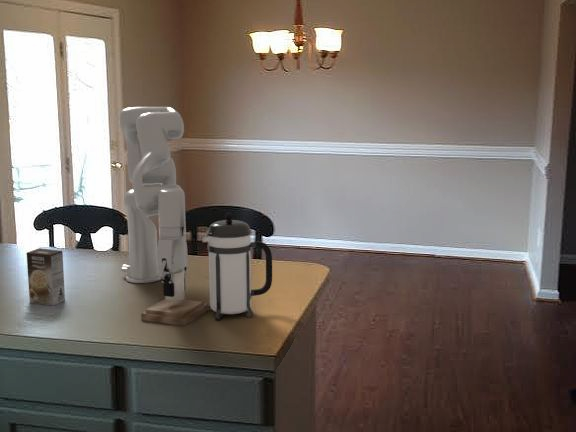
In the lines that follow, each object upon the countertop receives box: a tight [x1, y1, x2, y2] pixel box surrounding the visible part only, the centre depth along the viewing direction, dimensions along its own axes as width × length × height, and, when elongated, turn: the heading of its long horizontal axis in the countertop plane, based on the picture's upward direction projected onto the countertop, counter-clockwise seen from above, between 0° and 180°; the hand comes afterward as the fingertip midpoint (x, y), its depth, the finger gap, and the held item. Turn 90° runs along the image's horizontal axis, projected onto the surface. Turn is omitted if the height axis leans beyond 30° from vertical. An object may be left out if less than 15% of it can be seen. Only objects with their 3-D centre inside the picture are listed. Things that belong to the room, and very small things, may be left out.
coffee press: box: [202, 212, 273, 321], centre depth 202 cm, size 17×16×30 cm
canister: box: [164, 269, 186, 301], centre depth 200 cm, size 6×6×9 cm
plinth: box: [140, 298, 209, 327], centre depth 202 cm, size 14×14×3 cm
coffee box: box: [26, 247, 66, 306], centre depth 214 cm, size 9×6×16 cm
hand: (174, 292), depth 201 cm, fingers closed on canister, 5 cm apart
